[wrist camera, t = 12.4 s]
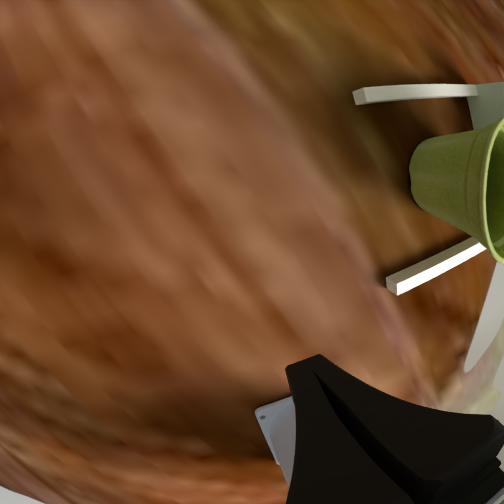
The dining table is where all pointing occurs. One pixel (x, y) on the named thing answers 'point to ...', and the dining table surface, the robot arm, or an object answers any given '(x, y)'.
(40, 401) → the dining table surface
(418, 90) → the display bay
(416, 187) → the plant pot
